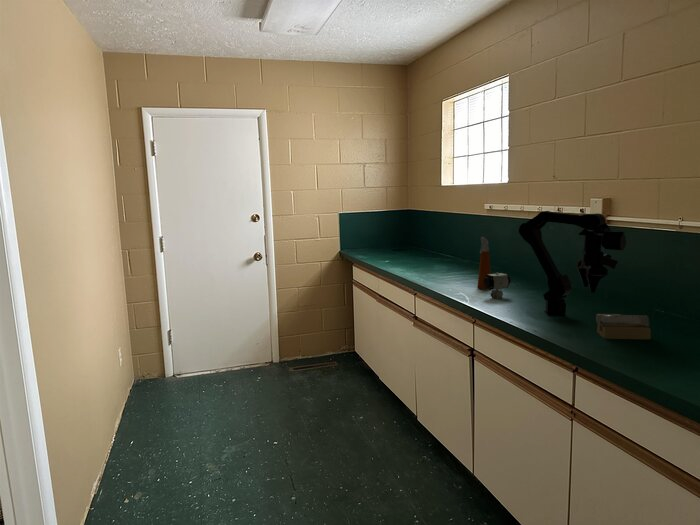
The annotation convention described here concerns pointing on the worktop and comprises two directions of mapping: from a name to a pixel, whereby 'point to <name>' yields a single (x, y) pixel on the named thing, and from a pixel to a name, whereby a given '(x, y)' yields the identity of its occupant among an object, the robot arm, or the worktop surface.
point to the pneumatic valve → (497, 283)
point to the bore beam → (602, 314)
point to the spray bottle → (484, 263)
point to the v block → (624, 332)
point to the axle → (624, 320)
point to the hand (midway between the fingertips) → (589, 289)
